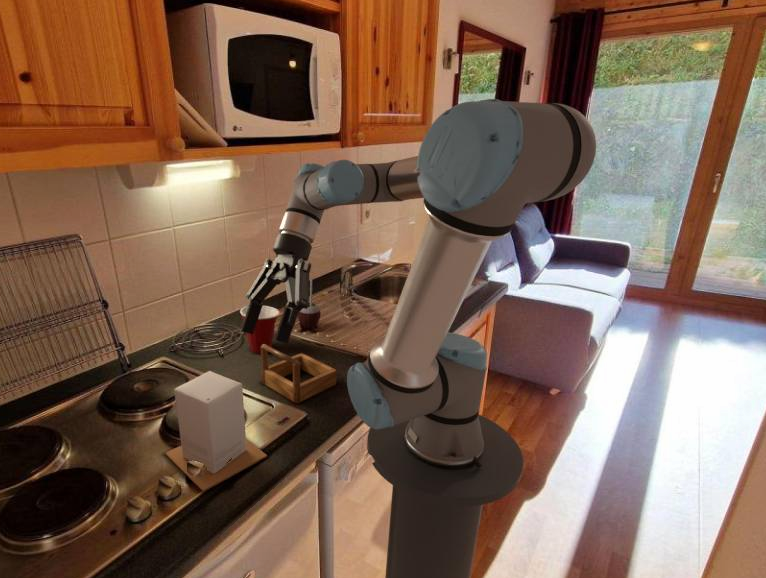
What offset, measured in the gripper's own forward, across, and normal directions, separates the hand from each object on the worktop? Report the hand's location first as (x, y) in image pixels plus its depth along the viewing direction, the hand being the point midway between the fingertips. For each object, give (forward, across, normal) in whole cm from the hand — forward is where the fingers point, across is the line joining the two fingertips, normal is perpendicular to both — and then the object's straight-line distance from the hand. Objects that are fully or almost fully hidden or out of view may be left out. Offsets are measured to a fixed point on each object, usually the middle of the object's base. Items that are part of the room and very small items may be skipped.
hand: (262, 337), depth 96 cm
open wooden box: (+7, +12, -22) cm, 26 cm away
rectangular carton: (+24, 0, +2) cm, 24 cm away
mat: (+24, 0, +2) cm, 25 cm away
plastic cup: (+2, +34, -22) cm, 41 cm away
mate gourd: (-9, +38, -38) cm, 55 cm away
